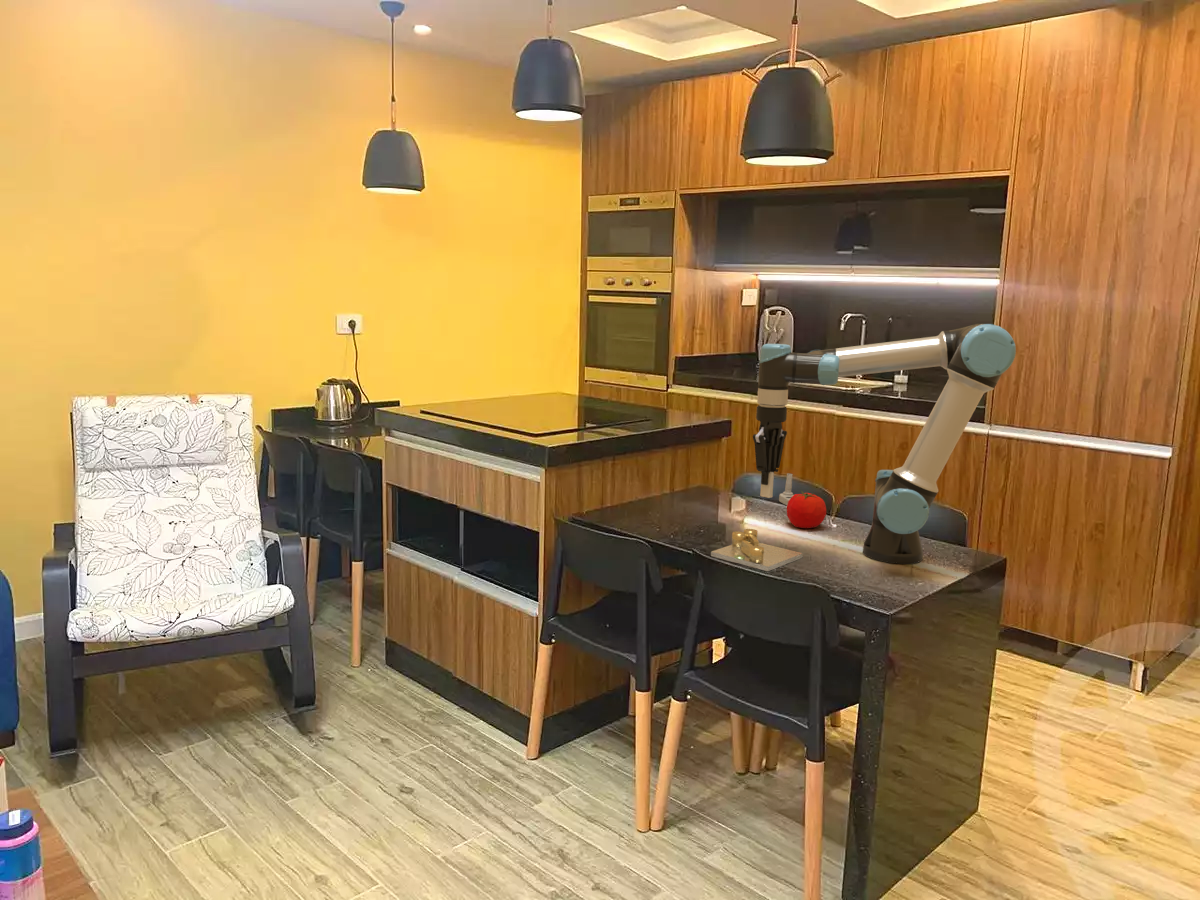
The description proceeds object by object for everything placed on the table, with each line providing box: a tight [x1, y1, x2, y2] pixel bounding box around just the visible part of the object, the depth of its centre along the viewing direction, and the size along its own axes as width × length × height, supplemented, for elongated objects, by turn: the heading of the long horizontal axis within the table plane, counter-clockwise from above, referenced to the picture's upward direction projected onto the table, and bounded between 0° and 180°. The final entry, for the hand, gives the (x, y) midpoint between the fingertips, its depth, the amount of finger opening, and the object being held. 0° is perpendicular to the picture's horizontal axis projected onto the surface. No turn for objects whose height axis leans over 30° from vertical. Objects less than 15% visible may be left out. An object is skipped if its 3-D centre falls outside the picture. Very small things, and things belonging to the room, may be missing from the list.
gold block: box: [743, 528, 760, 546], centre depth 236 cm, size 10×4×3 cm, turn 1°
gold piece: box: [741, 541, 764, 563], centre depth 226 cm, size 10×4×3 cm, turn 13°
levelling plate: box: [710, 530, 804, 572], centre depth 231 cm, size 17×17×4 cm
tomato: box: [786, 490, 827, 529], centre depth 263 cm, size 12×12×10 cm
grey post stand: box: [778, 472, 794, 506], centre depth 289 cm, size 5×10×15 cm
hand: (766, 496), depth 229 cm, fingers closed
